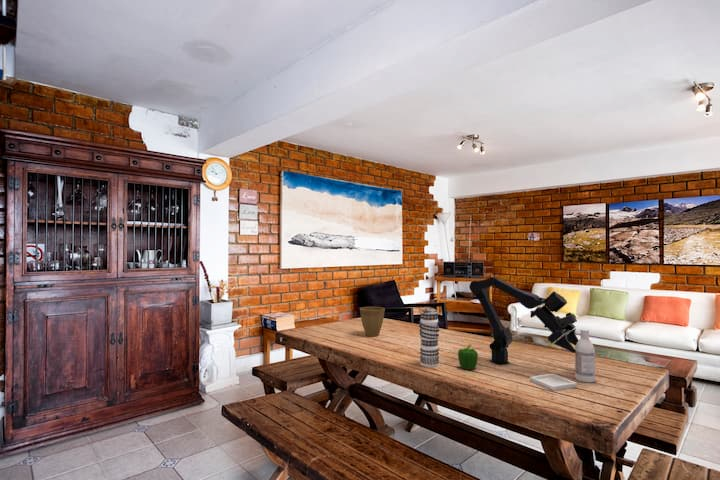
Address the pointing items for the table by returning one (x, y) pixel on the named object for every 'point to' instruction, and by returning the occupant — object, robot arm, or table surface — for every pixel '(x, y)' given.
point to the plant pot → (372, 320)
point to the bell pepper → (467, 358)
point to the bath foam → (585, 358)
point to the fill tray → (553, 382)
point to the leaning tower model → (429, 337)
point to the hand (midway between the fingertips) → (578, 349)
